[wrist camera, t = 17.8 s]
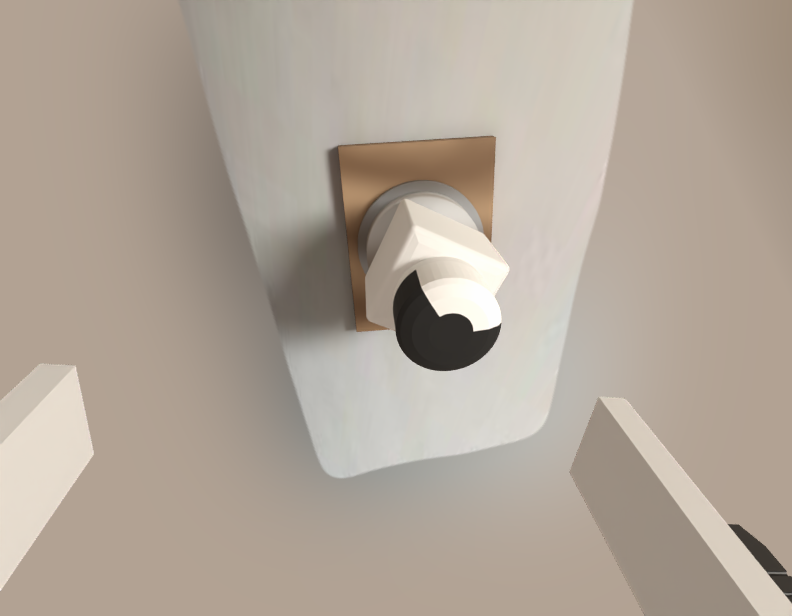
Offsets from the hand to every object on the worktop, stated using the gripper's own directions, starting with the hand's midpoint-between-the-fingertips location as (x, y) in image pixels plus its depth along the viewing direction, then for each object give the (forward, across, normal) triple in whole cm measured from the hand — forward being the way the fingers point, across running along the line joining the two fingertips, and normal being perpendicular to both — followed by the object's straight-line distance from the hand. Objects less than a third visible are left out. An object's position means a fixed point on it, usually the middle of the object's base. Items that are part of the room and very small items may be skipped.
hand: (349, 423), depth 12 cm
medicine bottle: (+25, +6, -4) cm, 26 cm away
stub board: (+29, +6, -4) cm, 30 cm away
